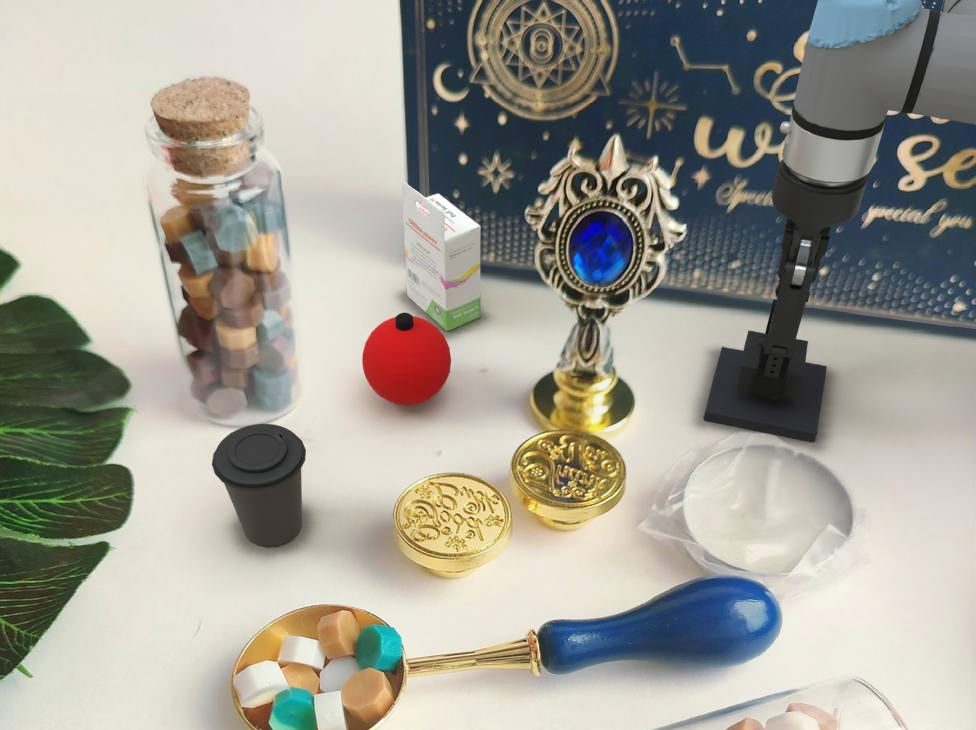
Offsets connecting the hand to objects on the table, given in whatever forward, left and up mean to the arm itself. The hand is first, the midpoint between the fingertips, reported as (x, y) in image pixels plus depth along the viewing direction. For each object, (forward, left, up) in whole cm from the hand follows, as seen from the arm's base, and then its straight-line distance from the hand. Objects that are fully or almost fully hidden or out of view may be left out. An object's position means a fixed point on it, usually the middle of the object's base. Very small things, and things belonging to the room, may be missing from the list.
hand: (769, 374), depth 109 cm
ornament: (+32, -17, -3) cm, 37 cm away
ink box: (+22, -29, -3) cm, 37 cm away
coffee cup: (+51, -6, -3) cm, 52 cm away
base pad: (0, 0, -3) cm, 3 cm away
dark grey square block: (0, 0, 0) cm, 0 cm away
